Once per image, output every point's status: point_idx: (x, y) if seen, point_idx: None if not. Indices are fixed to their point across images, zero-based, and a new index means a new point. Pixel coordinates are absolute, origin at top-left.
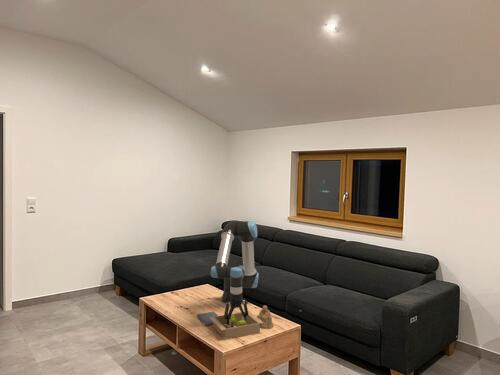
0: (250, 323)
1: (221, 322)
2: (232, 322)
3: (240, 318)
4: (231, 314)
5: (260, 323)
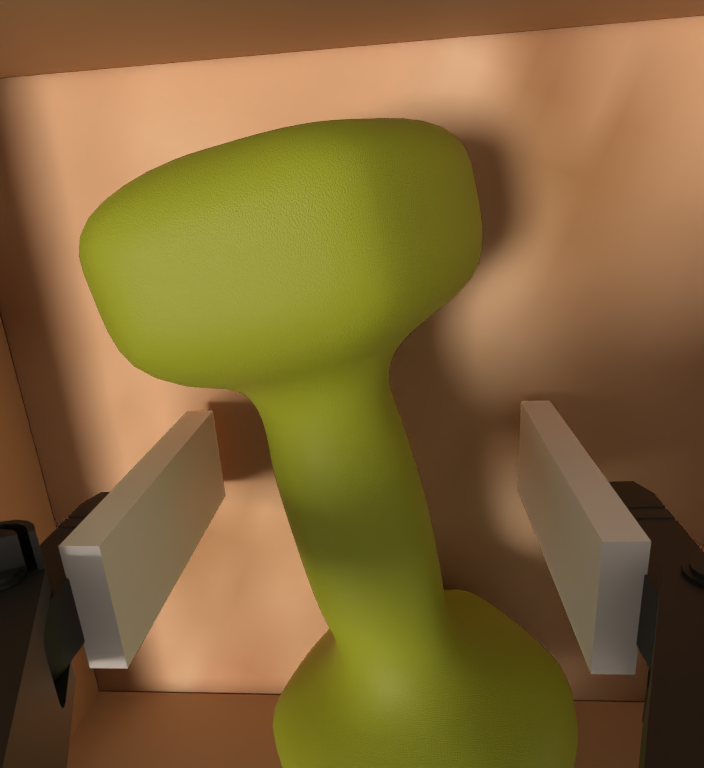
0: (9, 502)
1: (578, 749)
2: (439, 575)
3: (157, 751)
4: (648, 727)
5: None
